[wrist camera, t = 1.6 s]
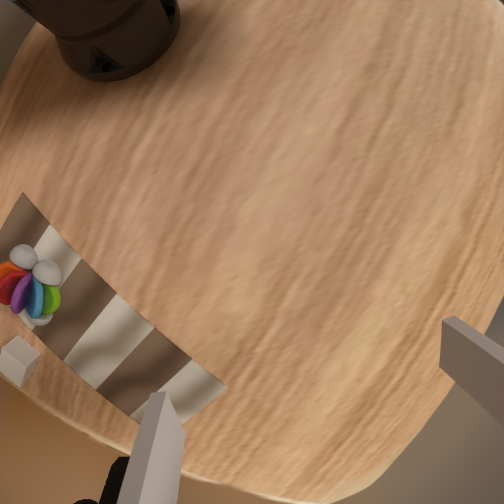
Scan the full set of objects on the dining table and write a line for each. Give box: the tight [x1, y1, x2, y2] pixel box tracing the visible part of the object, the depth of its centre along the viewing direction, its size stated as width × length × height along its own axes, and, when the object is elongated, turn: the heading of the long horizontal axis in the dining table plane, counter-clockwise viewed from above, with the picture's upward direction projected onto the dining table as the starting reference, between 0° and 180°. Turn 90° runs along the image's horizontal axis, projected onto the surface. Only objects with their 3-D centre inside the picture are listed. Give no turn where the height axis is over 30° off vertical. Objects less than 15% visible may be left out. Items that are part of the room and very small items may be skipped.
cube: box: [0, 335, 41, 388], centre depth 35 cm, size 4×4×4 cm
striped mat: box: [0, 193, 228, 425], centre depth 36 cm, size 36×14×1 cm, turn 45°
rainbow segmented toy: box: [0, 244, 62, 326], centre depth 31 cm, size 8×10×7 cm
